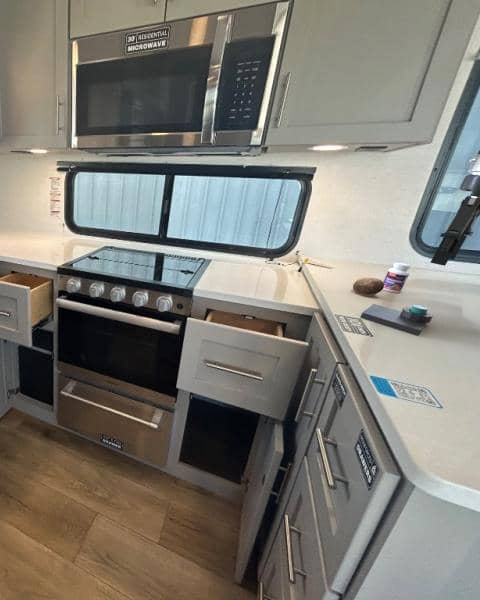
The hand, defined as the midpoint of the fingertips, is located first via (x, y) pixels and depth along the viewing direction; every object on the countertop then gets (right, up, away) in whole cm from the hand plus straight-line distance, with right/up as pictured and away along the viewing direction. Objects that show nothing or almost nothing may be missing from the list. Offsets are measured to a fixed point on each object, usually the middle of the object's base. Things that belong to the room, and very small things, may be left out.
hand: (442, 261), depth 86 cm
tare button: (-4, -14, +3) cm, 15 cm away
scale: (-9, -16, +4) cm, 19 cm away
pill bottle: (+14, -7, +30) cm, 34 cm away
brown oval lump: (0, -8, +24) cm, 25 cm away
